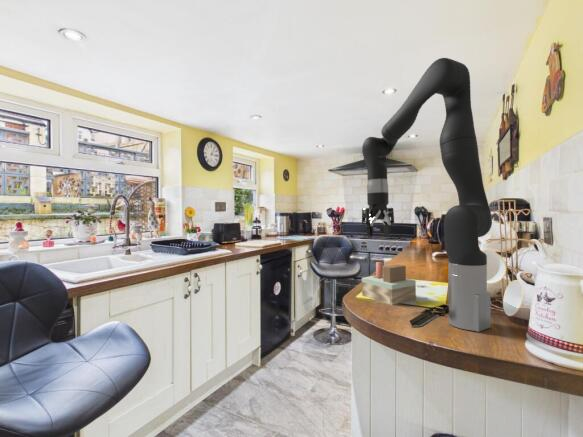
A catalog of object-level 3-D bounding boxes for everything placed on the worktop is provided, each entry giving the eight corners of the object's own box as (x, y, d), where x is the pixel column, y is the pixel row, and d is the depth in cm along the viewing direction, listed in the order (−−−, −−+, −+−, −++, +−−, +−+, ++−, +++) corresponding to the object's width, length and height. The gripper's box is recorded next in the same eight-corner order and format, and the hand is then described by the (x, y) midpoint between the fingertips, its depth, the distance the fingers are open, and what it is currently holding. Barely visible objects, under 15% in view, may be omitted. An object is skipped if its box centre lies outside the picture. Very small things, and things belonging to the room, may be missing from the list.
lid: (415, 284, 108) (415, 266, 108) (391, 289, 102) (391, 270, 102) (384, 277, 120) (384, 261, 120) (361, 281, 114) (361, 264, 114)
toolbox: (415, 301, 109) (415, 284, 108) (392, 307, 102) (391, 289, 102) (384, 293, 120) (384, 277, 120) (361, 298, 114) (361, 281, 114)
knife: (416, 331, 84) (416, 325, 84) (395, 324, 89) (395, 319, 89) (458, 311, 99) (458, 306, 99) (437, 306, 105) (437, 302, 104)
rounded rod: (384, 294, 114) (384, 262, 114) (379, 295, 113) (379, 263, 113) (379, 293, 116) (379, 261, 116) (374, 294, 115) (374, 262, 115)
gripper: (371, 190, 107) (372, 237, 107) (399, 191, 115) (400, 235, 115) (356, 192, 114) (357, 236, 114) (383, 193, 121) (384, 234, 121)
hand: (378, 236), depth 114 cm, fingers open, 8 cm apart
